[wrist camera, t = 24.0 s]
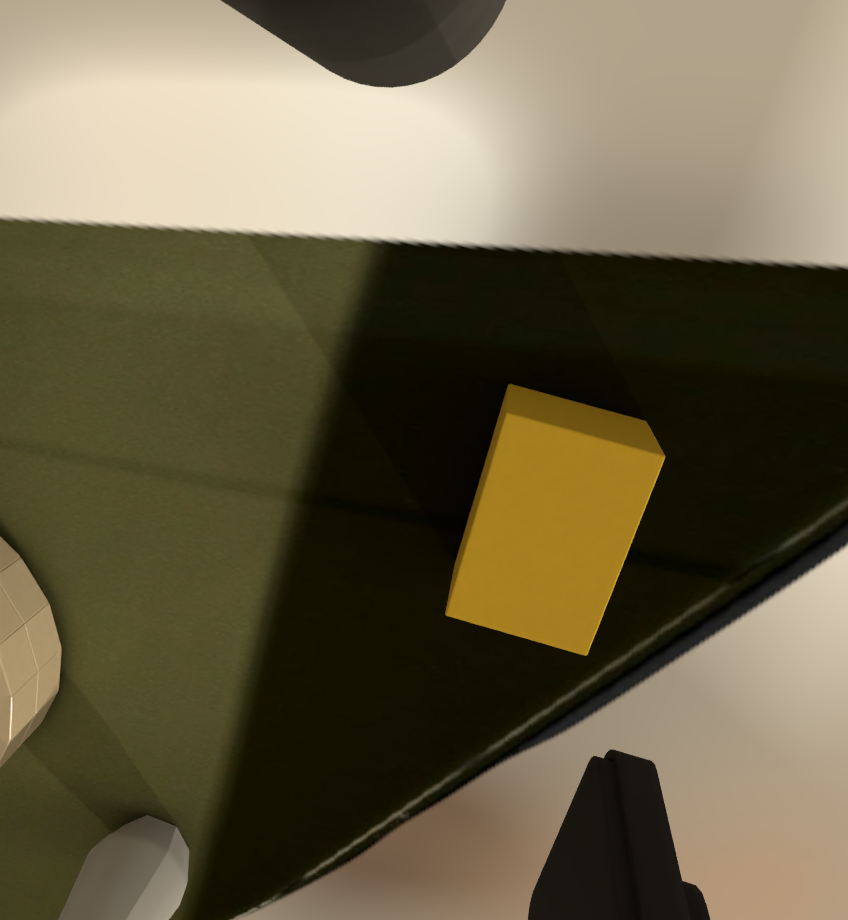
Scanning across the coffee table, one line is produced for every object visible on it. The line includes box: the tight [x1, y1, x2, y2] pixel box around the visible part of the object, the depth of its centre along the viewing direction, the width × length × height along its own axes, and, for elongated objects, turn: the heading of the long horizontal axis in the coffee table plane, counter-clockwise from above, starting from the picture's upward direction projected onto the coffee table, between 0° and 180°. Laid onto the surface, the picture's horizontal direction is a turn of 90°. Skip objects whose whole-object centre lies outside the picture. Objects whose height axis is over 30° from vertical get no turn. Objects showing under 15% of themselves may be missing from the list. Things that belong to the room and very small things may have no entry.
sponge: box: [445, 384, 665, 655], centre depth 30 cm, size 9×6×4 cm, turn 166°
